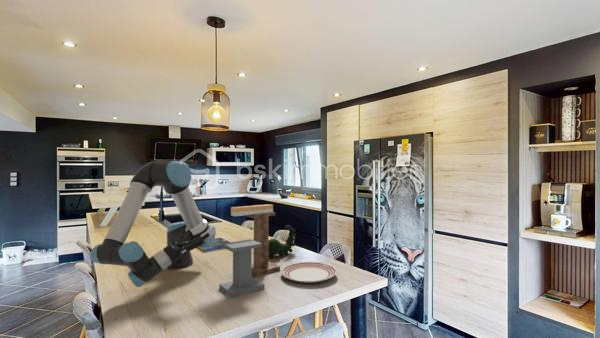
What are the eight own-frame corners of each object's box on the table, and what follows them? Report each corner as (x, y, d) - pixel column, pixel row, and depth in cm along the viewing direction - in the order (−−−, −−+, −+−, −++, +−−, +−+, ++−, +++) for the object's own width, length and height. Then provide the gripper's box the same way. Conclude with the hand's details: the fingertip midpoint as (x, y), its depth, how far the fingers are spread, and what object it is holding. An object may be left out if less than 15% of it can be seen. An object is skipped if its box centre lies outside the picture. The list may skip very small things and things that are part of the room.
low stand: (231, 297, 127) (231, 249, 127) (219, 288, 136) (219, 243, 136) (264, 288, 137) (264, 243, 137) (251, 280, 146) (251, 238, 146)
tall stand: (253, 276, 151) (253, 215, 151) (241, 270, 161) (241, 213, 161) (280, 270, 161) (280, 213, 161) (267, 264, 170) (268, 210, 170)
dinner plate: (296, 291, 134) (296, 283, 134) (272, 272, 159) (272, 266, 159) (347, 281, 147) (347, 274, 147) (318, 264, 171) (318, 258, 171)
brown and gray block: (234, 216, 149) (234, 208, 149) (231, 215, 153) (231, 207, 152) (272, 212, 163) (272, 204, 163) (268, 211, 166) (268, 204, 166)
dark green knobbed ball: (287, 253, 199) (257, 258, 181) (289, 223, 200) (259, 225, 182) (297, 256, 193) (268, 261, 174) (299, 225, 194) (270, 227, 176)
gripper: (164, 256, 143) (203, 229, 154) (180, 271, 123) (223, 238, 134) (155, 243, 141) (196, 216, 152) (170, 256, 121) (215, 224, 132)
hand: (209, 226), depth 143 cm, fingers open, 13 cm apart
